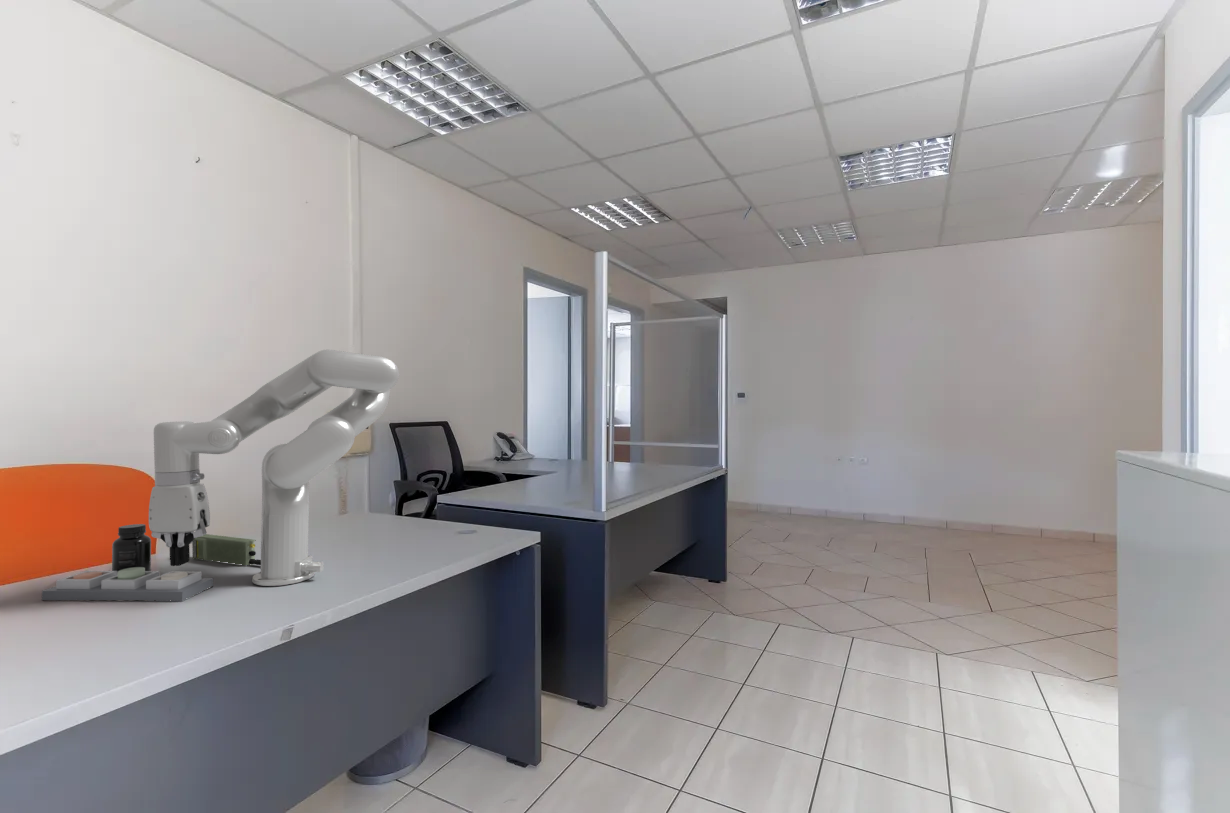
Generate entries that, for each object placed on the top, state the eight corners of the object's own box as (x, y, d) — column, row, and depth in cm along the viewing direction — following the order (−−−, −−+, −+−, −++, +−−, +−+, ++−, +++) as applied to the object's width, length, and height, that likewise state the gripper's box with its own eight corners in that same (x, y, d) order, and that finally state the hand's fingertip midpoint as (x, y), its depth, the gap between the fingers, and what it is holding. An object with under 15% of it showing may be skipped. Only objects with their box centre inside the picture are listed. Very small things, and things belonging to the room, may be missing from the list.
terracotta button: (107, 579, 118) (107, 571, 118) (88, 586, 114) (88, 577, 114) (86, 579, 118) (86, 571, 118) (67, 586, 114) (67, 577, 114)
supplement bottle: (158, 573, 130) (159, 523, 130) (130, 582, 123) (131, 529, 123) (132, 572, 131) (133, 522, 131) (103, 581, 124) (104, 528, 124)
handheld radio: (203, 556, 146) (274, 566, 138) (190, 560, 143) (262, 570, 135) (202, 532, 145) (273, 540, 138) (189, 535, 142) (261, 544, 135)
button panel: (212, 586, 121) (213, 569, 121) (182, 601, 112) (182, 583, 112) (83, 586, 120) (83, 568, 120) (41, 600, 111) (42, 582, 111)
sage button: (150, 575, 119) (150, 567, 119) (133, 581, 114) (133, 573, 114) (129, 575, 119) (129, 567, 119) (111, 581, 114) (111, 573, 114)
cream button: (192, 580, 119) (192, 572, 119) (177, 587, 115) (177, 578, 115) (171, 580, 119) (172, 571, 119) (155, 586, 115) (155, 578, 115)
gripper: (225, 476, 121) (227, 558, 121) (156, 477, 120) (158, 559, 121) (200, 481, 113) (202, 568, 114) (126, 482, 113) (129, 570, 113)
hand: (179, 563), depth 117 cm, fingers closed
